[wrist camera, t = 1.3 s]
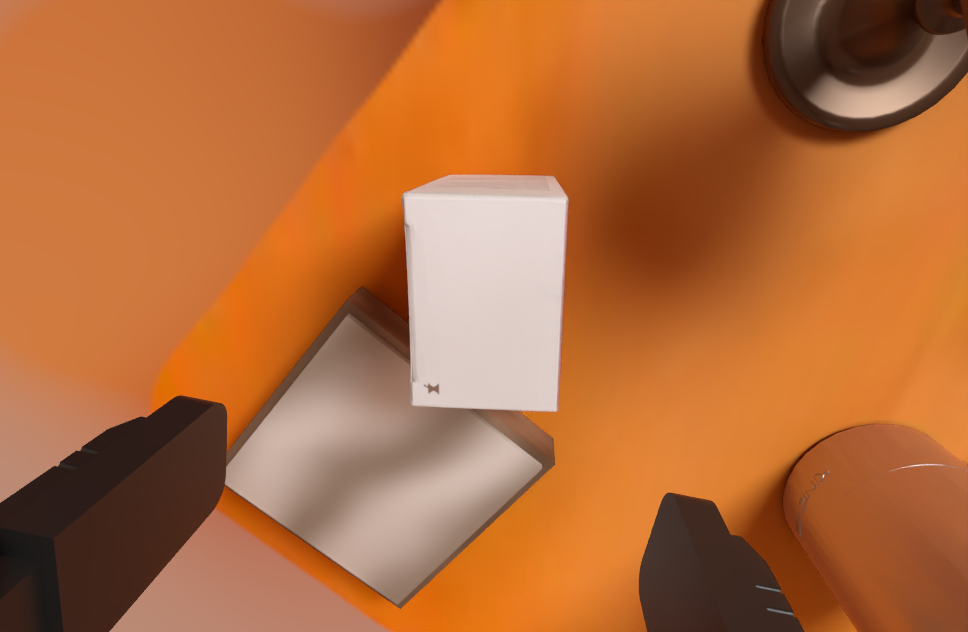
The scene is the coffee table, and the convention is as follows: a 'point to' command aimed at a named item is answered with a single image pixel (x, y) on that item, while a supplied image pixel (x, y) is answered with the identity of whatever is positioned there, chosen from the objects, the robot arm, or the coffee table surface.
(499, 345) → the small box
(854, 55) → the candlestick
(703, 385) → the coffee table surface
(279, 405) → the tray
